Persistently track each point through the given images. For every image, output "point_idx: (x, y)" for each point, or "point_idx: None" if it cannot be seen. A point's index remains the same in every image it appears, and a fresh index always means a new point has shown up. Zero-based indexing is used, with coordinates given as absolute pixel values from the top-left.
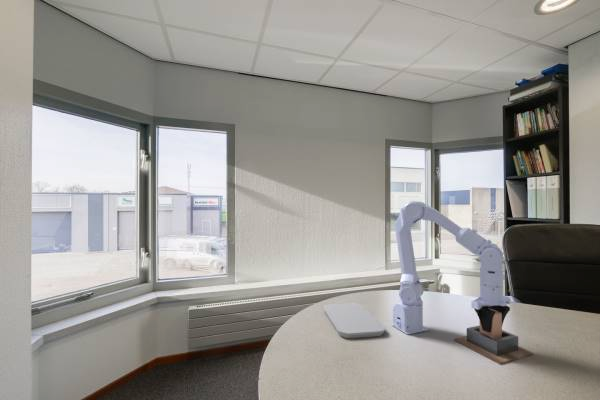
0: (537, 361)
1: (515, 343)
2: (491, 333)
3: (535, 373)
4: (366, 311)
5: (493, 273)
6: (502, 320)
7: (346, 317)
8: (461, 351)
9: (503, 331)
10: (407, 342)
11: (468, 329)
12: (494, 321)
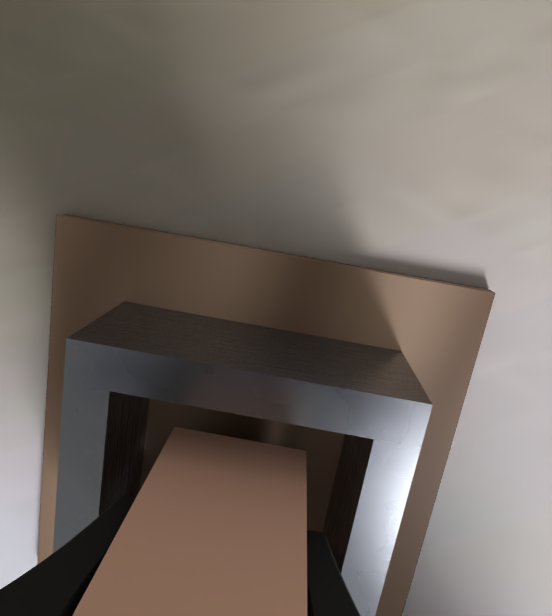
0: (154, 147)
1: (139, 327)
2: (303, 512)
3: (392, 72)
4: None
5: None
6: (72, 570)
7: None
8: (525, 531)
9: (82, 472)
10: None
11: None
12: (264, 614)
